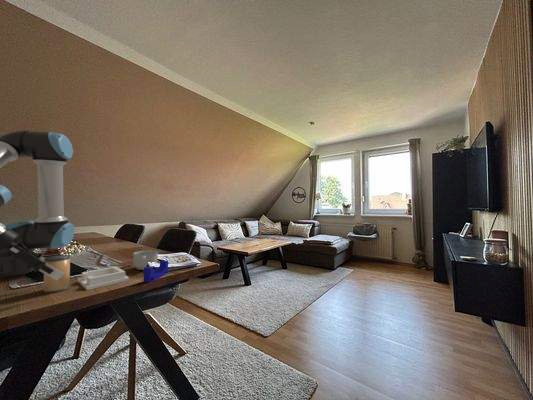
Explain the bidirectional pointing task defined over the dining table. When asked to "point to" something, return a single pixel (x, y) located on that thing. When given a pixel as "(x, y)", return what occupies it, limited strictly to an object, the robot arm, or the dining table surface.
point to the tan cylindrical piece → (63, 282)
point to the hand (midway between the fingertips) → (57, 273)
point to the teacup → (144, 258)
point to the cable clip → (155, 272)
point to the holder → (102, 277)
